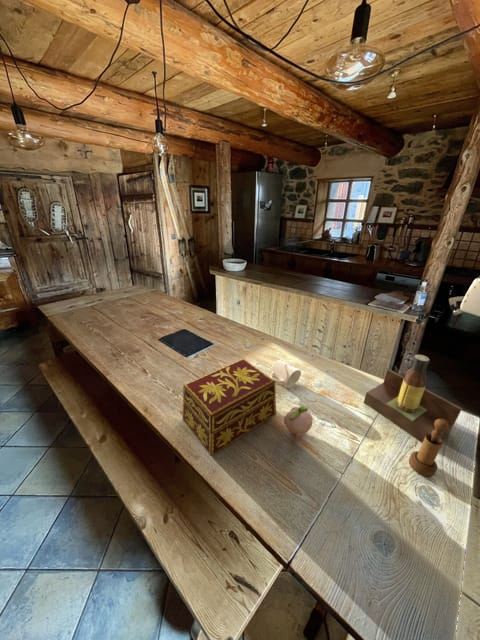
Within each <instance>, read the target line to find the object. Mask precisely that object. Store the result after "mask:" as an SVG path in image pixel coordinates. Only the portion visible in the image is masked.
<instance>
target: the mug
mask: <svg viewBox="0 0 480 640" xmlns="http://www.w3.org/2000/svg"><path fill="white" fill-rule="evenodd" d="M301 376H302V371H301V370H300V369H299V368H296V367H294V366H292V365H291V364H290V363H287V362H285V361H283V360H281V359H278V360H276V361H275V362H274V363H273V364H272V365H271V368H270V370H269V377H270V378H271V379H273V380H274V381H275V385H279V386H283V387H285V388H287V389H291V388H292V387H295V385H297V383H298V382H299V380H300V378H301Z"/></svg>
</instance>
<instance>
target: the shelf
mask: <svg viewBox="0 0 480 640" xmlns="http://www.w3.org/2000/svg"><path fill="white" fill-rule="evenodd" d="M404 378H405V376H403V375H402V374H399V373H398V372H395V371H394V370H392V369H390V368H389V369H387V370H386V373H385V376H384V379H383V382H382V383H380V384H378V385H376V386H375V387H372V388H371V389H370V390H368V391H366V392H365V396H364V399H363V403H364V404H365V405H367V406H368V407H370V408H371V409H372V410H374V411H375V412H377V413H378V414H380V415H381V416H383V418H386V420H388V421H390V422H391V423H393V424H394V425H396V426H397V427H399V428H400V429H401V430H403V431H404V432H405V433H407V434H408V435H410V436H411V437H413V438H414V439H416V440H417V441H419V442H420V443H421V444H422V443H423V441H424V439H425V436H426V435H427V434H432V431H433V430H435V425H434V422H435V421H436V420H437V419H443V420H445V421H446V422H447V423H448V425H449V427H448V429H447V430H446V431H444V432H442V433H441V434H442V437H441V438H440V439H441V440H442V441H443V440H444V439H445V438H446V437H448V435H450V433H451V432H452V429H453V427H454V425H455V423H456V422H457V420H458V417H459V416H460V413H461V412H462V410H463V408H462V407H461V406H459V405H457V404H456V403H454V402H451V401H450V400H448V399H446V398H444V397H442V396H440V395H438V394H437V393H435V392H434V391H433V392H432V391H431V390H429V389H427V388H425V389H424V392H423V395H422V398H421V401H420V404H419V407H418V408H417V410H416V411H415V412H407V411H404V410H402V409H401V408H400V407H399V406H398V405H397V402H398V396H399V393H400V390H401V386H402V383H403V380H404Z"/></svg>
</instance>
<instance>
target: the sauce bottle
mask: <svg viewBox="0 0 480 640" xmlns="http://www.w3.org/2000/svg"><path fill="white" fill-rule="evenodd" d="M412 362H413V363H412V365H411V367H410V368H408V370H407V371H406V372H405V375H404V377H405V378H404V380H403V383H402V386H401V390H400V393H399V396H398V402H397V405H398V406H399V407H400V408H401V409H402V410H404V411H407V412H415V411H416V410H417V408H418V407H419V404H420V401H421V398H422V395H423V392H424V389H426V386H427V368H428V365H429V364H430V358H429V357H428V356H426V355H423V354H415V355H414V357H413V361H412Z"/></svg>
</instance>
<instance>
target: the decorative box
mask: <svg viewBox="0 0 480 640" xmlns="http://www.w3.org/2000/svg"><path fill="white" fill-rule="evenodd" d="M276 394H277V393H276V384H275V381H274V380H273V379H271V378H270V375H267V374H266V373H265V372H263V371H262V370H261V369H259V368H257V367H256V366H255V365H253V364H252V363H250V362H249V361H248V360H246V359H245V358H241V359H239V360H237V361H234V362H232V363H230V364H228V365H225V366H223V367H220V368H218V369H215V370H213V371H211V372H209V373H207V374H204V375H202V376H200V377H198V378H195V379H193V380H191V381H188V382H186V383H184V384H183V387H182V413H181V414H182V415H181V416H182V420H183V421H184V423H185V424H186V425H187V427H188V428H189V429H190V431H191V432H192V433H193V435H194V436H195V437H196V439H197V440H198V441H199V442H200V444H201V445H202V446H203V447H204V449H205V450H206V452H207V453H208V454H209V456H214V455H215V454H217V453H218V452H220V451H222V450H223V449H225V448H227V447H229V446H230V445H231V444H233V443H234V442H235V441H237V440H238V439H240V438H242V437H243V436H245V435H247V434H248V433H250V432H251V431H252V430H255V429H256V428H258V426H260V425H262V424H263V423H265V422H267V421H268V420H270V419H271V418H273V417H274V416H275V415H276V414H277V400H276V399H277V397H276Z"/></svg>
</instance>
